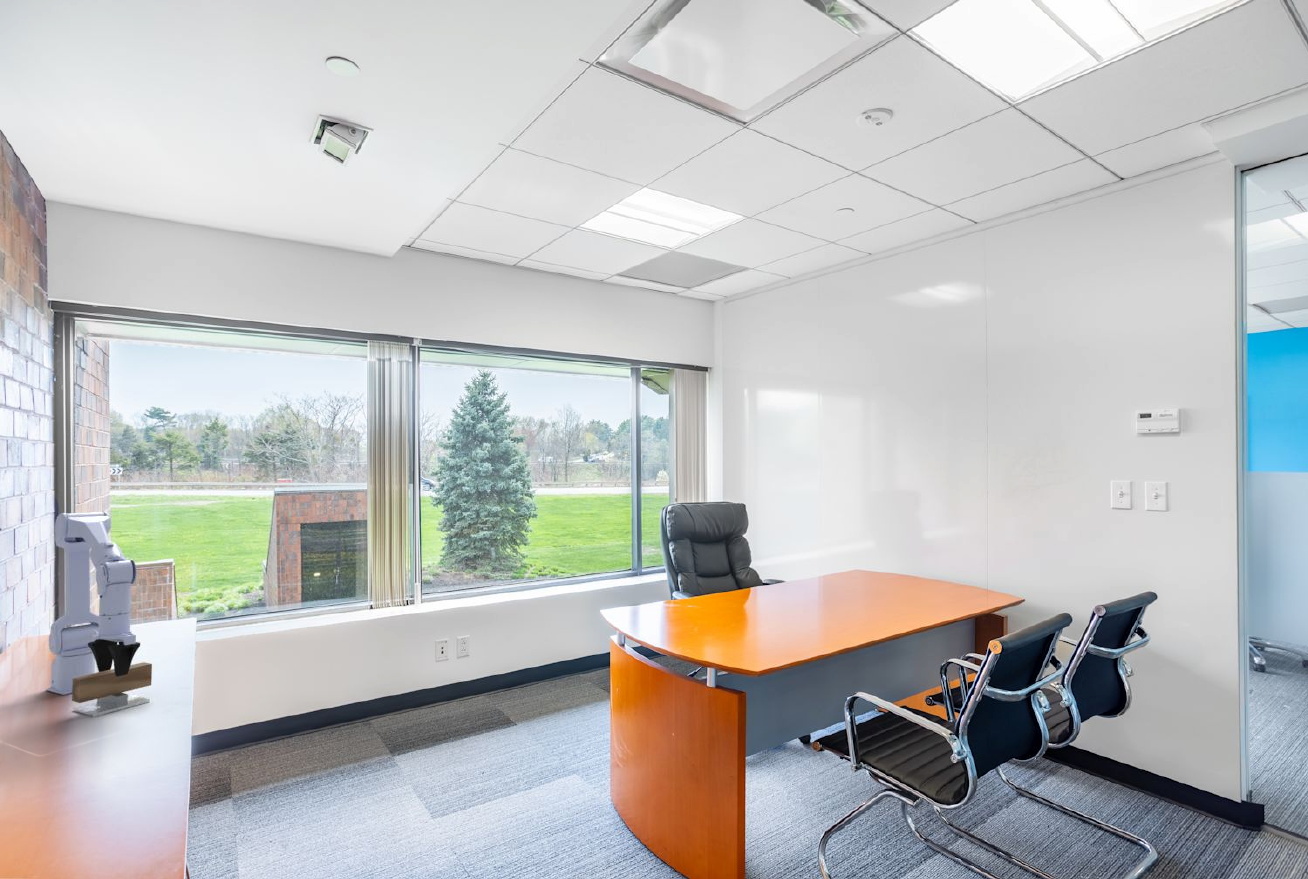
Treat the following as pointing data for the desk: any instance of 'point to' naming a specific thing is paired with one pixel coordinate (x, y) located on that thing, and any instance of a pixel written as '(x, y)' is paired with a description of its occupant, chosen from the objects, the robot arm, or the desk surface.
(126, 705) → the balance stand
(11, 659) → the desk surface
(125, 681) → the walnut rod
